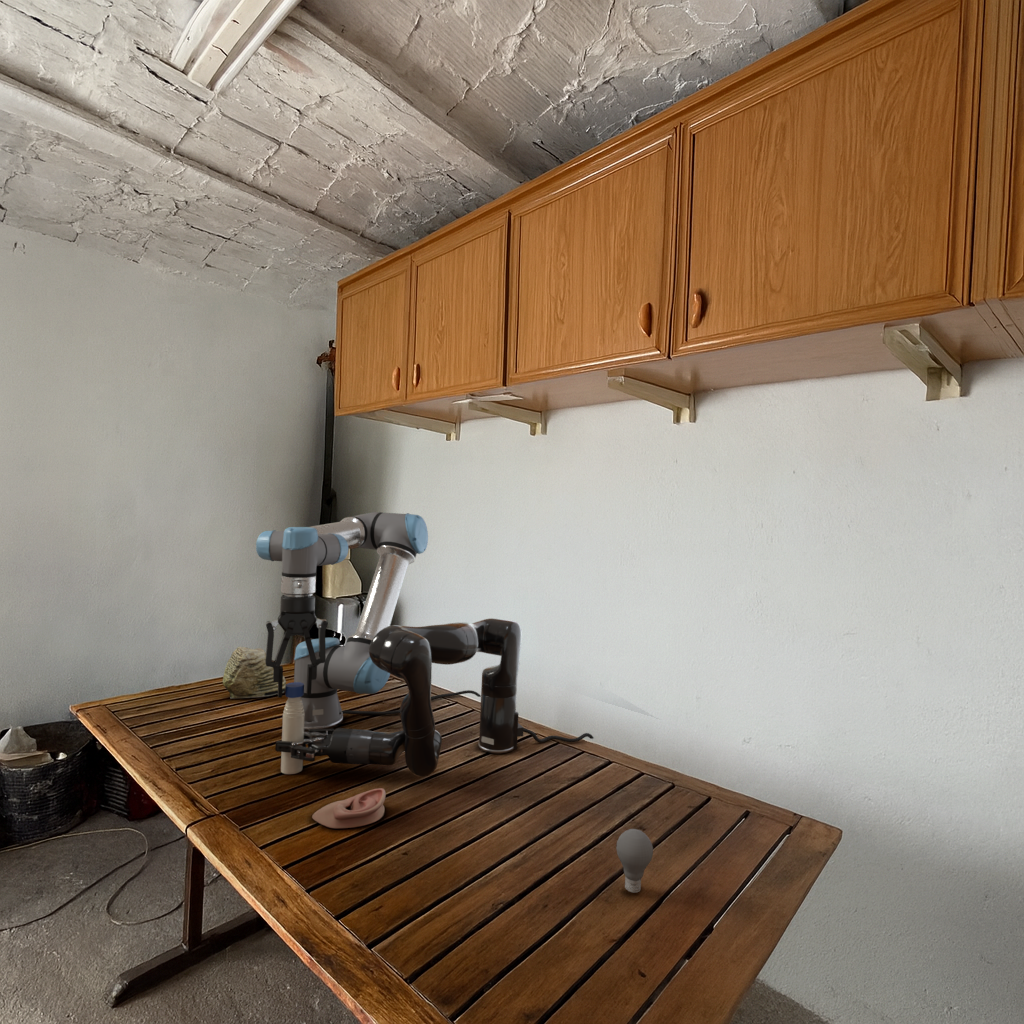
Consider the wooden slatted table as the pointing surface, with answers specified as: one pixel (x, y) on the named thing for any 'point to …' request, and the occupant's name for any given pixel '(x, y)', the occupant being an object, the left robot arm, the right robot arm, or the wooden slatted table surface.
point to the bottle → (292, 733)
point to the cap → (294, 689)
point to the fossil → (249, 674)
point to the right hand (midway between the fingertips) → (281, 741)
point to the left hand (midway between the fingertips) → (294, 694)
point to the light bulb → (634, 857)
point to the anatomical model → (353, 810)
